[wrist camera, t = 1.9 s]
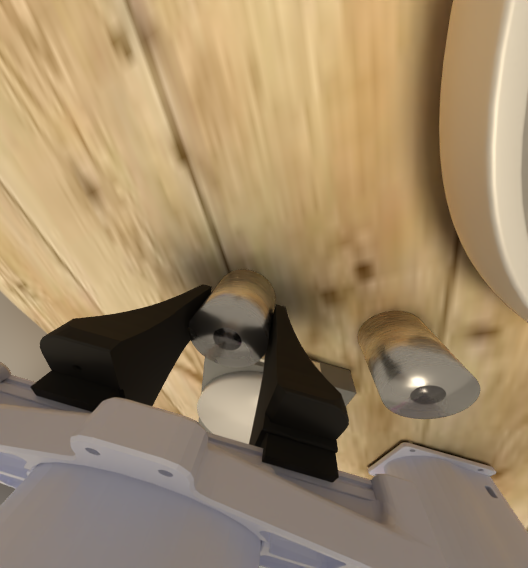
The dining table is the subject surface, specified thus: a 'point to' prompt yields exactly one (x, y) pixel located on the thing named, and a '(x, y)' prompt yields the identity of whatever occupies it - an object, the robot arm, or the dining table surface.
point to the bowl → (488, 140)
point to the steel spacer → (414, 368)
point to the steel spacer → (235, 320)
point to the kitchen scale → (247, 396)
